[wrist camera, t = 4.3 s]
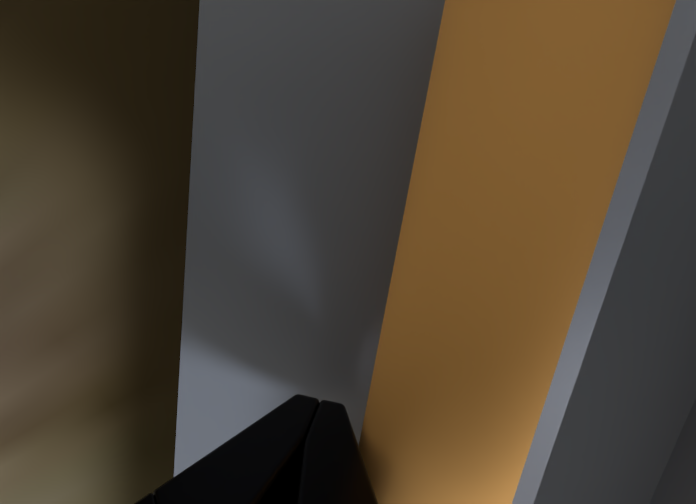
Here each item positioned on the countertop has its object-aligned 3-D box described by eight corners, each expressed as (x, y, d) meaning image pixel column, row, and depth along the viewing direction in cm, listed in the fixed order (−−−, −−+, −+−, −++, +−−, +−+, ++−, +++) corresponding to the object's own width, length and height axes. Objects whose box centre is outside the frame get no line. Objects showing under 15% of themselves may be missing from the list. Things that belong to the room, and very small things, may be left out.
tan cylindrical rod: (414, -57, 6) (664, -54, 5) (501, -11, 8) (692, 1, 6) (277, 741, 11) (381, 858, 9) (353, 645, 12) (448, 730, 11)
